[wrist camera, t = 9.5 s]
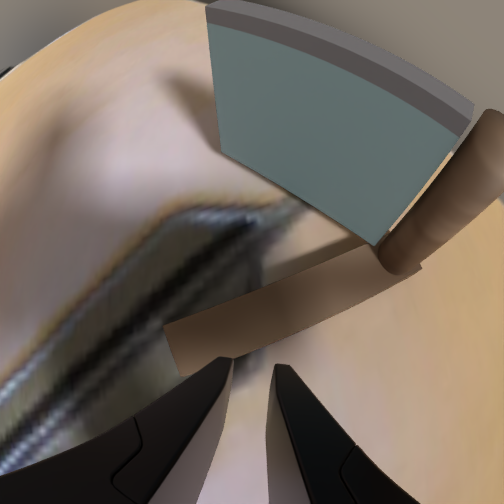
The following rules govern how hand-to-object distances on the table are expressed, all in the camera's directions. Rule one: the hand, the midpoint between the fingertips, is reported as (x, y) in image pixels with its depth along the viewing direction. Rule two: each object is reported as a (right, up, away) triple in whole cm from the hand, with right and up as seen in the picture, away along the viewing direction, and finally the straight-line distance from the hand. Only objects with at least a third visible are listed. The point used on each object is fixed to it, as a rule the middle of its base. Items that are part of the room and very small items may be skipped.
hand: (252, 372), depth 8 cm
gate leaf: (+3, +7, +9) cm, 11 cm away
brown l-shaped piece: (+2, +1, +8) cm, 8 cm away
